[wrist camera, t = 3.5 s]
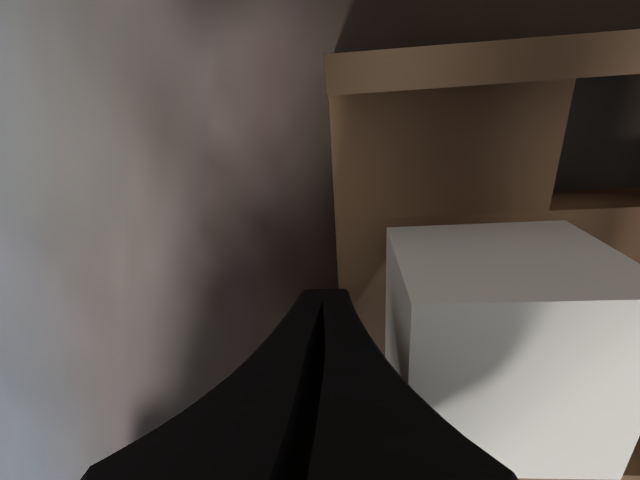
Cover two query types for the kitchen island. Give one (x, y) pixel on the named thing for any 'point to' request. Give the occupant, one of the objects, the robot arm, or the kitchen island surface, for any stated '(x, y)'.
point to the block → (521, 341)
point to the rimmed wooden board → (482, 147)
